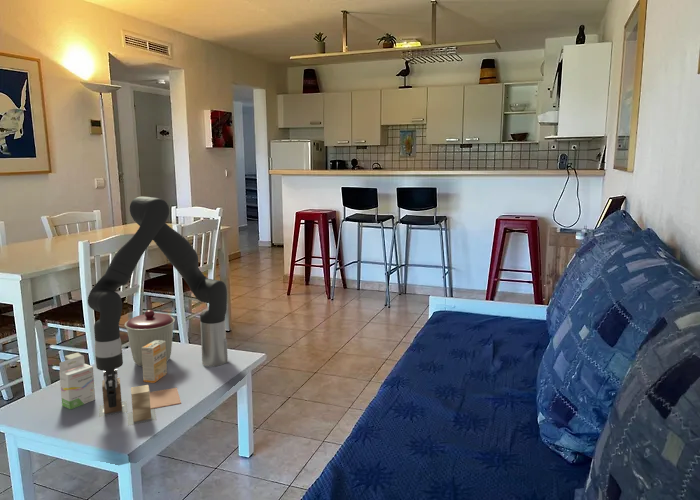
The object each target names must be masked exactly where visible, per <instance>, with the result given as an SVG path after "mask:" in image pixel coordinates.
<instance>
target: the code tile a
mask: <svg viewBox="0 0 700 500" xmlns="http://www.w3.org/2000/svg"><path fill="white" fill-rule="evenodd" d="M127 401H128V400H124V401H122V411H118V412H112V413H107V414H104V404H101V405H99V407H98V408H99V409H98V410H99V411H98V418H102V417H107V416H113V415H118V414H125V413H128V402H127Z"/></svg>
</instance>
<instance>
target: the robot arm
mask: <svg viewBox="0 0 700 500" xmlns="http://www.w3.org/2000/svg"><path fill="white" fill-rule="evenodd" d="M129 213H130V217H131V219H132V220H133V221H134V222H135V223H136V224H137V225H138V226H139V228H138V229H137V230H136V232H135V233H134V235H132V237H131V238H130V239H128V241H127V242H125V244H123V245H122V246H121V247H120V248H119V249H118V251H117V252H116V253H115V254H114V256H113V258H112V259H111V261H110V264H109V265H108V267H107V269H106V271H105V272H104V274H103V275H102V276H101V278H99V280H98V281H97V282H96V284H95V285H93V287H92V289H91V290H89V293H88V296H87V304H88V306H89V308H90V309H91V310H92V311H95V312H98V313H99V319H98V320H97V321H95V323H94V325H93V327H94V328H93V330H94V331H93V332H94V355H95V367H96V369H97V370H98V371H103V376H102V377H103V380H105V389H107V397H108V403H109V407H110V408H111V407H116V406H117V403H116V395H117V393H116V388H117V378H119V377H118V369H119V368H121V367H122V366H123V363H124V360H123V358H124V357H123V347H122V345H123V344H122V340H121V332H120V321H121V316H122V312H123V311H122V310H123V300H122V296H121V295H120V294H119V293H118V292H117V290H118V288H119V287H122V286H125V285H127V284H128V282H129V280H130V279H131V277H132V275H133V273H134V271H135V268H136V267H137V265H138V263H139V262H140V260H141V258H142V256H143V255H144V253H145V251H146V250H147V249H148V247H149V246H150V245H151V243H152V242H154V243H155V244H156V246H157V247H158V248H159V250H160V251H161V252H162V253H163V255H164V256H165V257H166V258H167V260H168V261H169V263H170V264H171V266H173V267H174V268H175V270H177V272H178V273H179V275H180V276H181V277H182V278H183V281H185V283H186V284H187V285H188V287H189V289H190V290H191V292H192V294H193V296H194V297H195V299H196V300H198V301H199V302H202V303H206V304H208V309H207V310H204V311H202V312H201V313H200V317H199V318H200V321H199V322H200V343H201V361H202V362H201V363H202V365H203V366H205V367H211V368H212V367H213V368H214V367H218V366H219V367H220V366H222V365H225V364H228V362H229V359H228V358H229V357H228V339H227V335H226V334H227V333H226V314H227V310H228V308H227V306H228V289H227V285H226V283H225V282H224V281H222V280H218V279H213V278H208V277H206V276H205V275H204V273H203V272H202V271H201V269H200V267H199V255H198V253H197V251H196V250H195V249H194V247H193V246H192V244H191V243H190V242H189V240H187V239H186V238H185V237H184V236H183V235H181V234H180V233H179V232H177V231H176V230H175V229H174V228H172V227H170V226H169V224H167V220H168V219H169V216H170V206H169V205H168V203H167V201H165V200H164V199H163V198H160V197H159V198H158V197H152V196H151V197H150V196H138V197H135V198H134V199H133V200H132V201H131V202H130V204H129ZM109 391H114V392H110V393H109Z"/></svg>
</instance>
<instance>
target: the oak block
mask: <svg viewBox="0 0 700 500" xmlns="http://www.w3.org/2000/svg"><path fill="white" fill-rule="evenodd" d="M149 392H150V386H149V384H144V385H139V386H132V387H130V395H131V407H132V409H131V410H132V412H133V422H137V421H142V420H148V419H151V409H150V393H149Z"/></svg>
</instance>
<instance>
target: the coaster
mask: <svg viewBox="0 0 700 500" xmlns="http://www.w3.org/2000/svg"><path fill="white" fill-rule="evenodd" d="M149 393H150V409H154V408H155V409H158V408H160V409H161V408H165V407H169V406H176V405H180V404H182V401H181V398H180V397H181V396H180V395H179V391H178V388H177V387H172V388H166V389H160V390H155V391H149Z"/></svg>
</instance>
